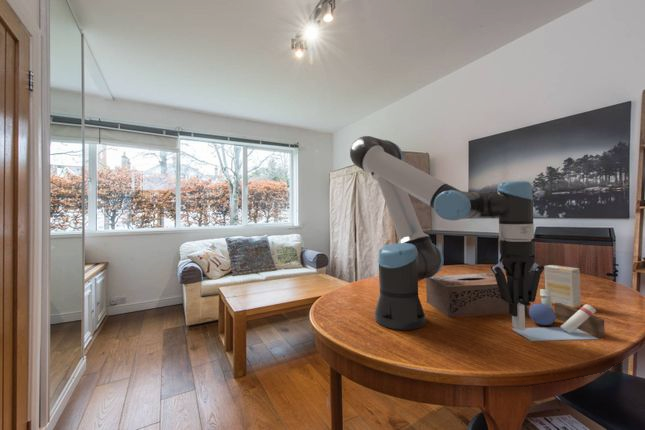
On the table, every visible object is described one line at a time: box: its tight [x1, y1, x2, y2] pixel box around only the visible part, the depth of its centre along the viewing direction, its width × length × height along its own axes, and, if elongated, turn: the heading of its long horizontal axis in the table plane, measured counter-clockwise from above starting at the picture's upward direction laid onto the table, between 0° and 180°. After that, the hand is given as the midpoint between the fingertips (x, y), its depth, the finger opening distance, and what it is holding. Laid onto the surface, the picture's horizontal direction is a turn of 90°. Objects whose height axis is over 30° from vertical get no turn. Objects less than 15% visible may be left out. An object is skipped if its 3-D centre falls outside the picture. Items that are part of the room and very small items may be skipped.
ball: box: [528, 302, 557, 326], centre depth 77 cm, size 6×6×6 cm
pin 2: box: [559, 303, 597, 334], centre depth 71 cm, size 2×2×9 cm
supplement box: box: [543, 264, 582, 309], centre depth 92 cm, size 8×5×13 cm, turn 22°
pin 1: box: [539, 288, 556, 323], centre depth 79 cm, size 2×2×9 cm
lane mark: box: [511, 326, 599, 342], centre depth 71 cm, size 17×7×1 cm, turn 90°
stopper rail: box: [554, 303, 606, 338], centre depth 75 cm, size 2×13×4 cm, turn 0°
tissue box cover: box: [425, 272, 519, 318], centre depth 93 cm, size 26×14×10 cm, turn 94°
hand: (518, 327), depth 71 cm, fingers closed
